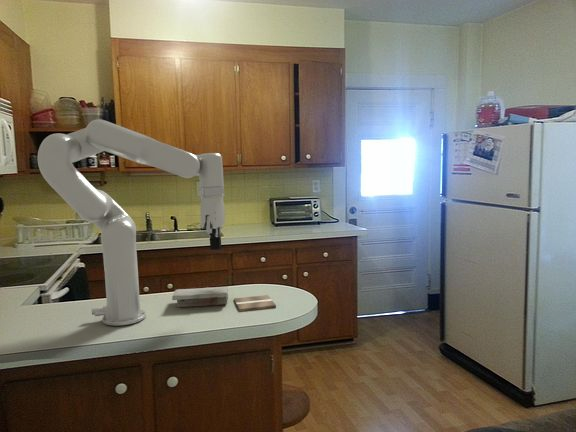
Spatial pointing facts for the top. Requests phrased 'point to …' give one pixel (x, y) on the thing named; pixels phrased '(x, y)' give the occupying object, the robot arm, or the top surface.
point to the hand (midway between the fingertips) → (215, 248)
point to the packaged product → (201, 296)
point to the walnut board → (254, 303)
